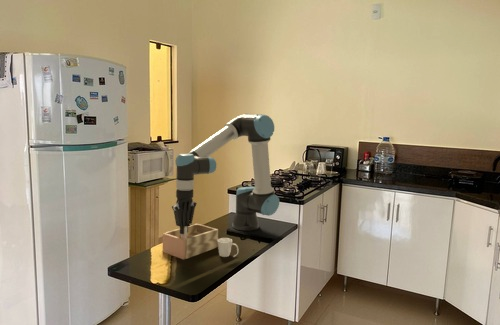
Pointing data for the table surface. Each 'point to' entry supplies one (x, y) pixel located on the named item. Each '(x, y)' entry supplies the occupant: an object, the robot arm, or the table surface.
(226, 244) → the cup
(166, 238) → the tailgate
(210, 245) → the box
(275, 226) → the table surface
